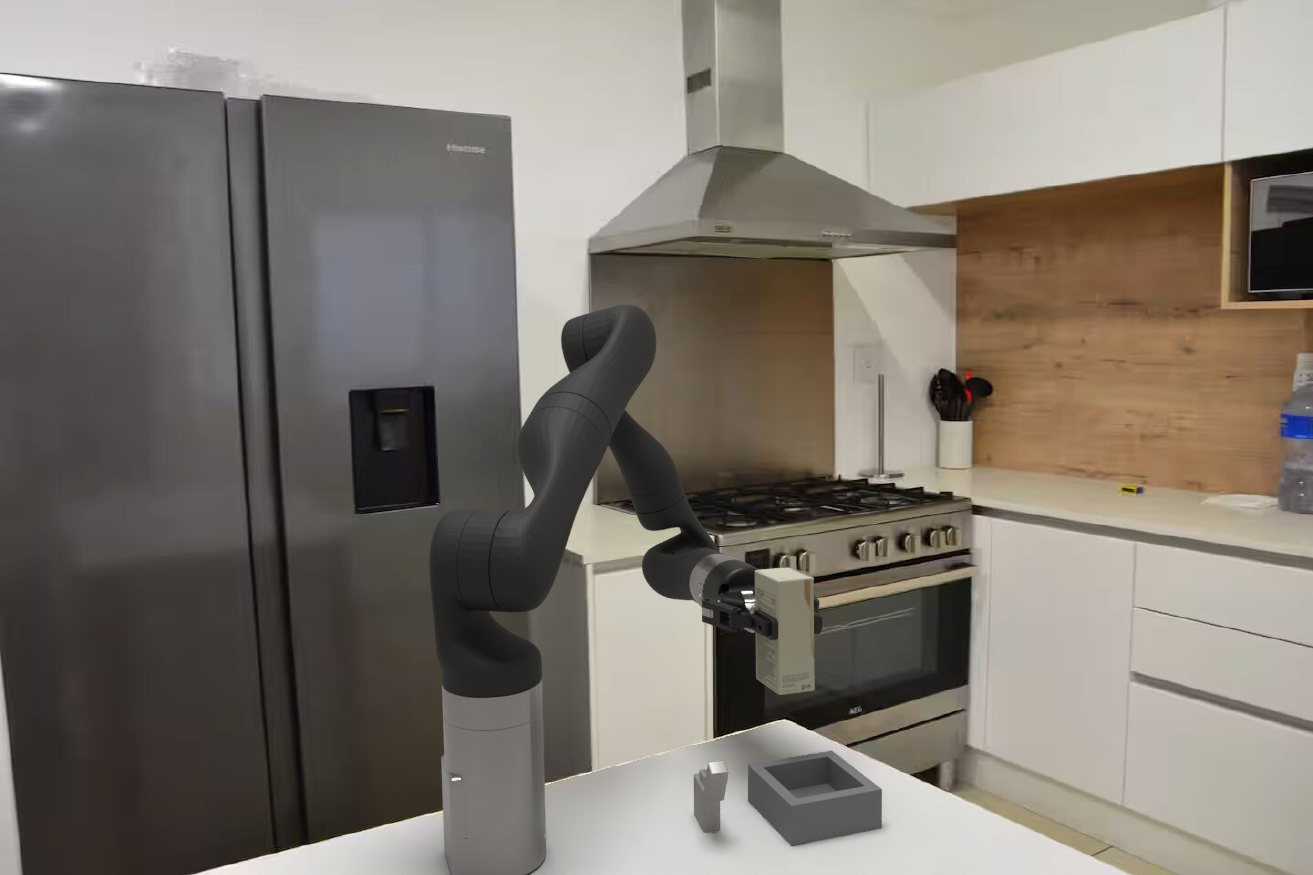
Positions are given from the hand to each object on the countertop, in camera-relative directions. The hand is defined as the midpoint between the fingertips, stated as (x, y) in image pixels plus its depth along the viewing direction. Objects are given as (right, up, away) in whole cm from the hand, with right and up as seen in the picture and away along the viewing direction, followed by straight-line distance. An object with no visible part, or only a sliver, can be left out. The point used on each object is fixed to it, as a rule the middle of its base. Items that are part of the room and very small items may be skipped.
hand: (796, 627), depth 103 cm
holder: (+1, -19, -1) cm, 19 cm away
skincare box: (-1, -7, +3) cm, 8 cm away
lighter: (-9, -19, -4) cm, 22 cm away
